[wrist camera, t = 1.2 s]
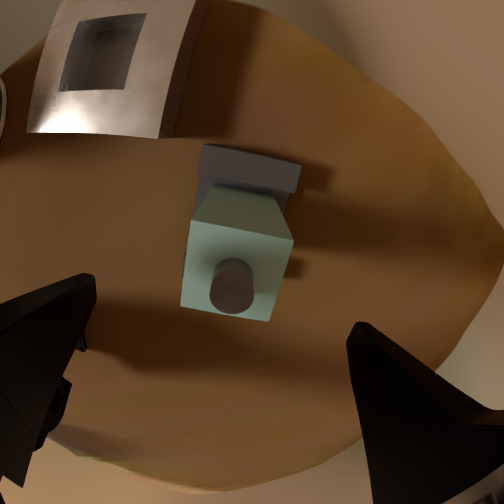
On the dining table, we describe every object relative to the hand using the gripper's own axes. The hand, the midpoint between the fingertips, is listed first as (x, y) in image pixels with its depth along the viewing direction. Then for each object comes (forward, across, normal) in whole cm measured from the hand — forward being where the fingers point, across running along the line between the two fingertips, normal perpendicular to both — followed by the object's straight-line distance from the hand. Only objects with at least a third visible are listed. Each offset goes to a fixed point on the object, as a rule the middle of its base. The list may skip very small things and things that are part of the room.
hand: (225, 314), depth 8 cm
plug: (+11, 0, 0) cm, 11 cm away
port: (+12, +11, -10) cm, 19 cm away
